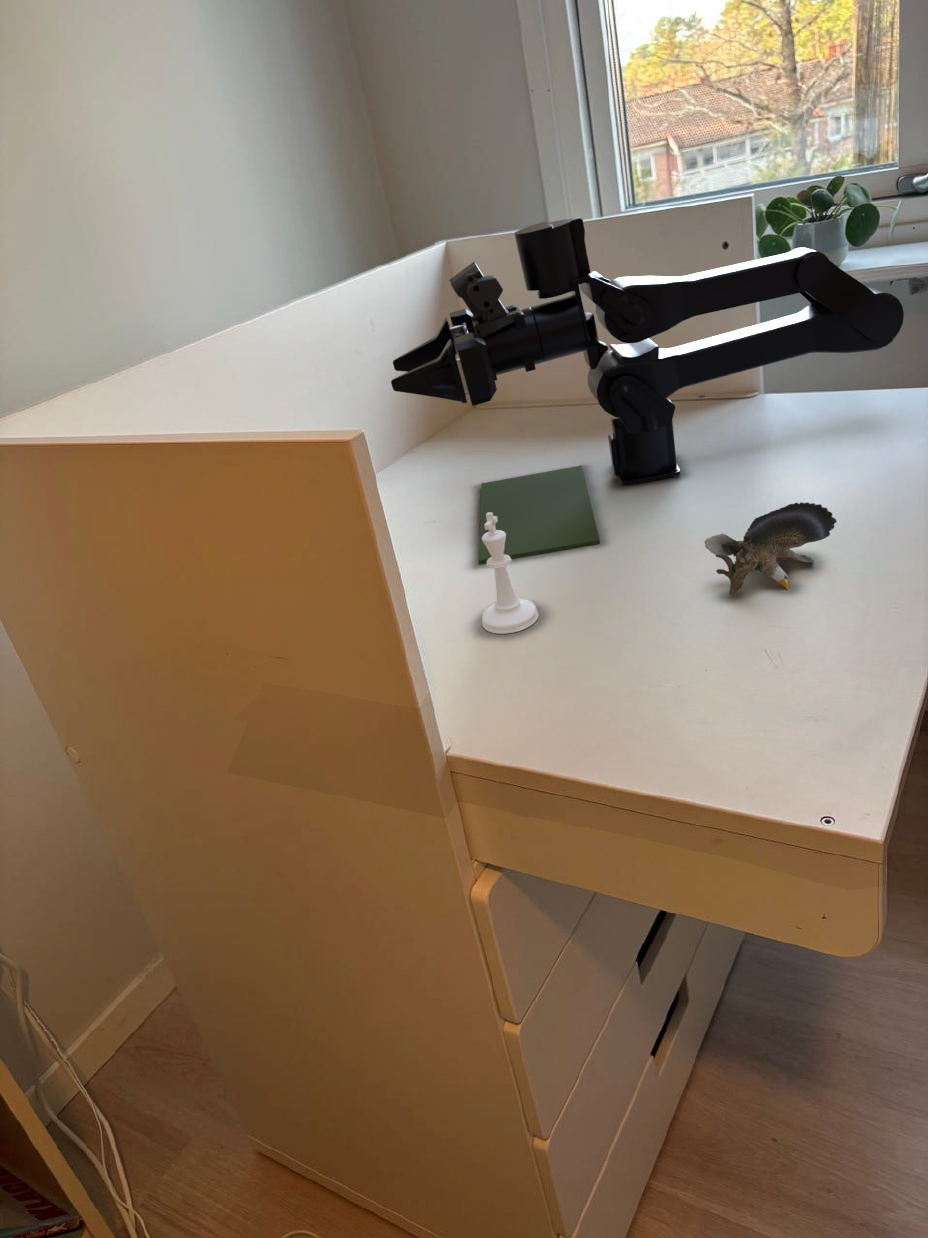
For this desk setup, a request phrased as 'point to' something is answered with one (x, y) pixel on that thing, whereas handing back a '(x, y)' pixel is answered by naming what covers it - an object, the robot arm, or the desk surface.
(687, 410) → the desk surface
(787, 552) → the eagle figurine
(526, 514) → the green board
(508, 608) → the chess piece
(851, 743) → the desk surface
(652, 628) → the desk surface
